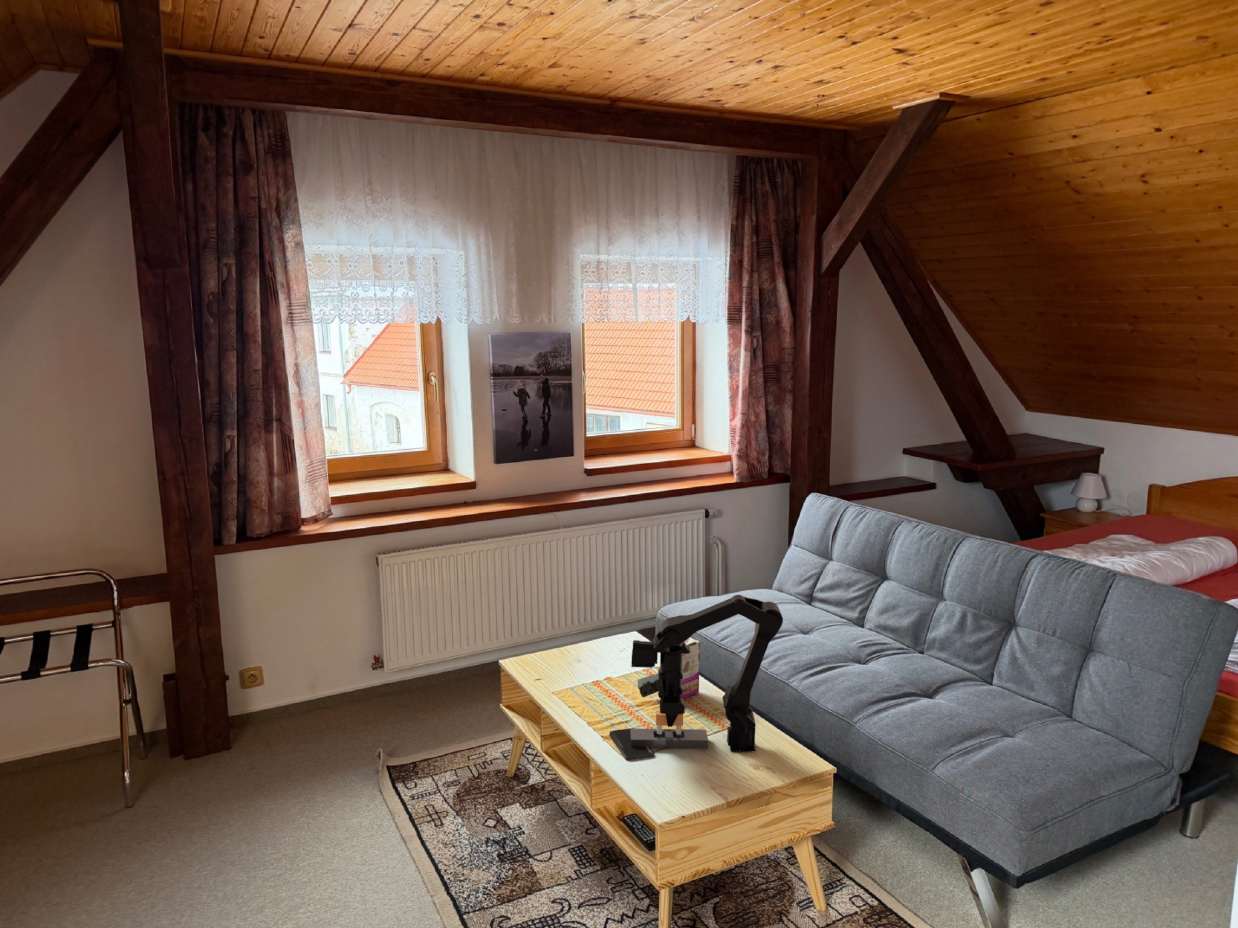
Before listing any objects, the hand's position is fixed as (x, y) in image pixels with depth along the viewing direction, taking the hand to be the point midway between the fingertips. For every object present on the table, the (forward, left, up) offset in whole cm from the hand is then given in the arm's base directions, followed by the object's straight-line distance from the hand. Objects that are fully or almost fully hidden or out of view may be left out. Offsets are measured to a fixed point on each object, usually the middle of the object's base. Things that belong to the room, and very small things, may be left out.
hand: (669, 723), depth 234 cm
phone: (+10, +1, -6) cm, 12 cm away
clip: (0, 0, -2) cm, 2 cm away
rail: (0, 0, -5) cm, 5 cm away
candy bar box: (-5, -29, -6) cm, 30 cm away
